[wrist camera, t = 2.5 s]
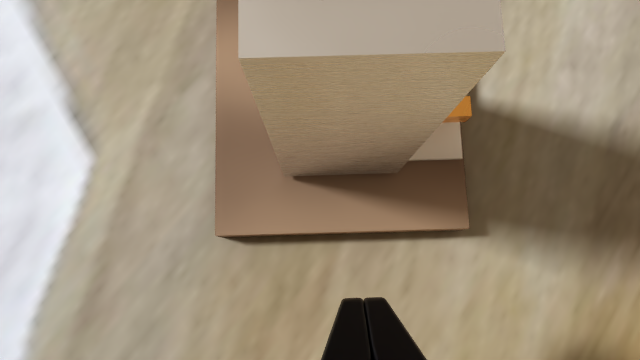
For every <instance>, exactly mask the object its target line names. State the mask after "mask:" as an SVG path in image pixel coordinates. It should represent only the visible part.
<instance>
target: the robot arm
mask: <svg viewBox="0 0 640 360" xmlns="http://www.w3.org/2000/svg"><path fill="white" fill-rule="evenodd" d="M321 360H427V359H426V358H425V356H424V355H423V354H422V352H421V351H420V349H419V348H418V346H417V345H416V343H415V342H414V340H413V339H412V337H411V336H410V334H409V333H408V331H407V330H406V329H405V327H404V326H403V324H402V323H401V321H400V320H399V318H398V317H397V315H396V314H395V312H394V311H393V309H392V308H391V307H390V305H389V304H388V302H387V301H386V300H385V299H384V298H382V297H375V298H365V299H364V301H363V300H362V299H361V298H345V299H343V300H342V301H341V304H340V307H339V310H338V313H337V315H336V318H335V321H334V324H333V327H332V330H331V333H330V335H329V338H328V341H327V344H326V347H325V350H324V353H323V355H322V358H321Z"/></svg>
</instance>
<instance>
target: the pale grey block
mask: <svg viewBox="0 0 640 360" xmlns="http://www.w3.org/2000/svg"><path fill="white" fill-rule="evenodd" d="M505 51H506V50H505V41H504V31H503V21H502V11H501V1H500V0H238V58H239V61H240V64H241V66H242V69H243V71H244V74H245V76H246V79H247V82H248V84H249V87H250V89H251V92H252V94H253V97H254V99H255V102H256V105H257V107H258V110H259V112H260V115H261V117H262V120H263V123H264V125H265V128H266V130H267V133H268V135H269V138H270V141H271V143H272V146H273V148H274V151H275V153H276V156H277V159H278V161H279V164H280V166H281V169H282V171H283V174H284V176H315V175H350V174H385V173H398V172H399V171H400V169H401V168H402V167H403V166H404V165H405V164H406V163H407V162H408V160H409V159H410V158H411V157H412V156H413V155H414V154H415V153H416V151H417V150H418V149H419V148H420V147H421V146H422V145H423V144H424V142H425V141H426V140H427V139H428V138H429V137H430V136H431V135H432V133H433V132H434V131H435V130H436V129H437V128H438V127H439V126H440V124H441V123H446V122H466V121H467V120H468V119H469V118H470V117H471V116H472V112H471V101H470V96H466V95H467V94H468V93H469V92H470V91H471V90H472V88H473V87H474V86H475V85H476V84H477V83H478V82H479V81H480V79H481V78H482V77H483V76H484V75H485V74H486V73H487V72H488V70H489V69H490V68H491V67H492V66H493V65H494V64H495V63H496V61H497V60H498V59H499V58H500V57H501V56H502V55H503V54H504V52H505Z"/></svg>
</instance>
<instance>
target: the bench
mask: <svg viewBox="0 0 640 360" xmlns="http://www.w3.org/2000/svg"><path fill="white" fill-rule="evenodd" d="M468 228H469V217H468V205H467V193H466V181H465V168H464V156H463V144H462V132H461V122H446V123H441V124H440V126H439V127H438V128H437V129H436V130H435V131H434V132H433V133H432V135H431V136H430V137H429V138H428V139H427V140H426V141H425V142H424V144H423V145H422V146H421V147H420V148H419V149H418V150H417V151H416V153H415V154H414V155H413V156H412V157H411V158H410V159H409V160H408V162H407V163H406V164H405V165H404V166H403V167H402V168H401V169H400V171H399V172H398V173H385V174H350V175H315V176H284V174H283V171H282V169H281V166H280V164H279V161H278V159H277V156H276V153H275V151H274V148H273V146H272V143H271V141H270V138H269V135H268V133H267V130H266V128H265V125H264V123H263V120H262V117H261V115H260V112H259V110H258V107H257V105H256V102H255V99H254V97H253V94H252V92H251V89H250V87H249V84H248V82H247V79H246V76H245V74H244V71H243V69H242V66H241V64H240V61H239V58H238V0H217V32H216V178H215V236H218V237H243V236H277V235H310V234H344V233H377V232H411V231H444V230H463V229H468Z"/></svg>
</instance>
